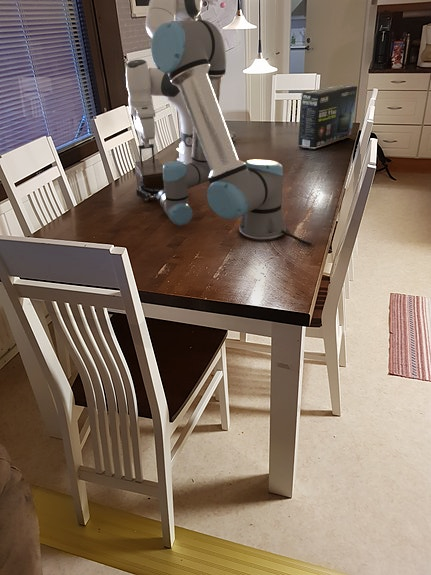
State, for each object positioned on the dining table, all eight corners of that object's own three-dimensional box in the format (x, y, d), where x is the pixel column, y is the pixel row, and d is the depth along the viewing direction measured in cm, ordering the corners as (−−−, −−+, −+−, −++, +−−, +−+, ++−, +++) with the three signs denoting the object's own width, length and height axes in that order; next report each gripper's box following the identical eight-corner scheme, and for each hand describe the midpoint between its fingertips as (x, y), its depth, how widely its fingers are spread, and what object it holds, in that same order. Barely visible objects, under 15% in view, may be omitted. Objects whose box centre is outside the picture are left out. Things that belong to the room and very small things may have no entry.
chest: (137, 191, 189) (134, 168, 184) (161, 187, 192) (158, 164, 187) (145, 202, 178) (142, 177, 173) (170, 198, 180) (167, 174, 175)
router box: (314, 151, 231) (318, 94, 217) (296, 148, 237) (299, 92, 224) (352, 138, 251) (358, 85, 238) (335, 135, 258) (340, 83, 245)
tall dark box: (134, 164, 184) (131, 143, 179) (157, 160, 187) (156, 140, 182) (142, 177, 173) (140, 156, 168) (167, 174, 176) (166, 153, 171)
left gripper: (127, 105, 179) (132, 141, 186) (139, 114, 162) (143, 153, 170) (143, 103, 180) (147, 139, 188) (156, 112, 164) (160, 151, 171)
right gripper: (139, 216, 159) (127, 196, 177) (200, 206, 165) (182, 187, 183) (136, 195, 155) (124, 177, 173) (199, 186, 161) (181, 169, 179)
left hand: (145, 146), depth 178 cm, fingers closed, pressing on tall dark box
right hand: (154, 182), depth 178 cm, fingers closed on chest, 10 cm apart
